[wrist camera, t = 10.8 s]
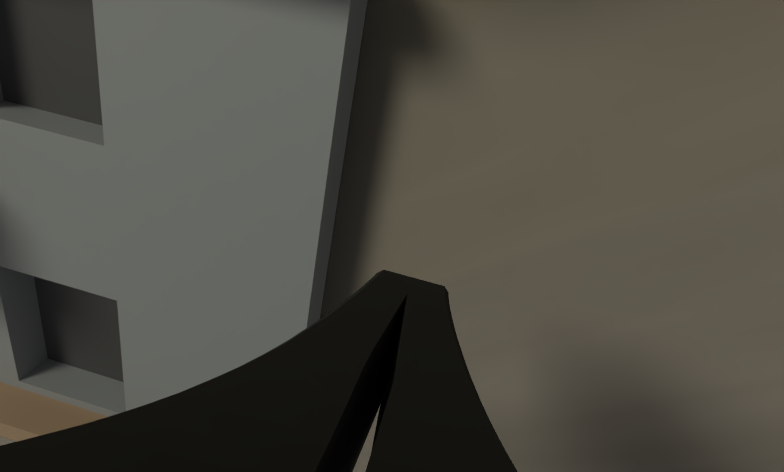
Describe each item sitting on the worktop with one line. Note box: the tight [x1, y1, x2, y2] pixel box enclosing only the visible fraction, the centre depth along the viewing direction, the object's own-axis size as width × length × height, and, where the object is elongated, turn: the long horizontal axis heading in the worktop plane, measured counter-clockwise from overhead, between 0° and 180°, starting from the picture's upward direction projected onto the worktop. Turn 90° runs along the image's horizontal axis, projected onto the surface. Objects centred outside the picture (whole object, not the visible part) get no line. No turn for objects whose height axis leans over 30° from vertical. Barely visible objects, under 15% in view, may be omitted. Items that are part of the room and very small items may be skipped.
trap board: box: [0, 0, 368, 442], centre depth 20 cm, size 24×24×5 cm
